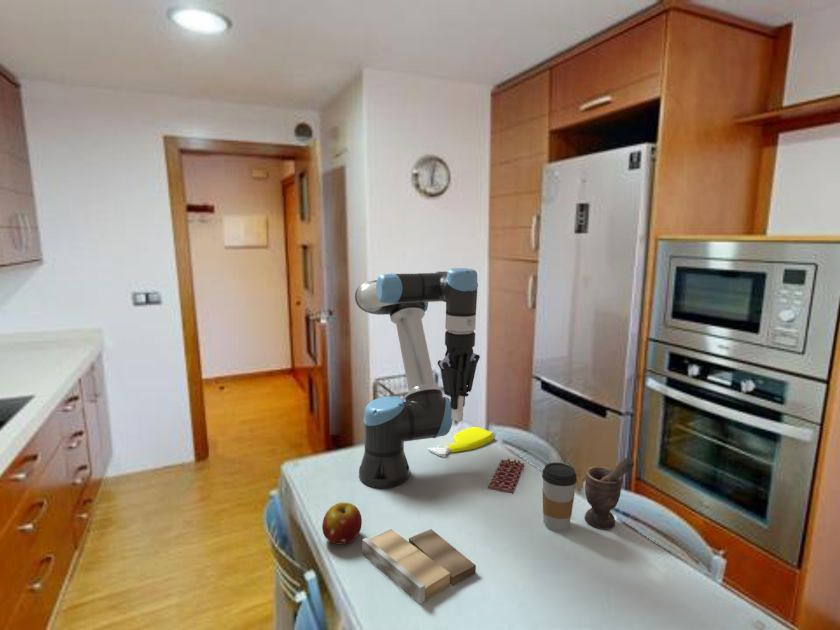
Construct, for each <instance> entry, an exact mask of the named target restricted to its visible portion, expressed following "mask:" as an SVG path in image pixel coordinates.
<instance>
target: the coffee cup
mask: <svg viewBox="0 0 840 630" xmlns="http://www.w3.org/2000/svg"><path fill="white" fill-rule="evenodd" d="M541 477H542V513H543V515H542V516H543V524H544V526H545V527H546V528H547V529H548V530H550V531H554V532H556V533H557V532H558V533H562V532H566V531H567V530H568V529H569V527H570V525H571V517H572V515H573V514H572V513H573V507H574V501H575V489H576V483H577V473H576V470H575V468H574V467H573V466H572V465H570V464H567V463H563V462H548V463H547V464H545V465H544V468H543V469H542V474H541Z"/></svg>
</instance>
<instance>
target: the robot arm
mask: <svg viewBox="0 0 840 630" xmlns="http://www.w3.org/2000/svg"><path fill="white" fill-rule="evenodd" d="M478 287H479V284H478V273H477V270H475V269H473V268H466V267H465V268H463V267H455V268H450V269H448V271H435V272H427V273H426V272H425V273H424V272H423V273H421V272H420V273H418V272H417V273H393V272H391V273H383V274H380V275H379V276H378V277H377V280H375V279H374V280H371V281H370V280H369V281H366V282H363V283H361V284H360V285H359V286H358V287H357V289H356V290H355V293H354V301H355V303H356V306H357V307H358V308H359V309H360V310H362V311H363V312H365V313H368V314H372V315H381V316H382V315H389V318H390V322H391V323H393V324H394V325H396V332H397V335H398V336H397V337H398V341H399V345H400V346H399V347H400V352H401V357H402V362H403V368H404V373H405V379H406V384H407V388H408V389H407V390H408V392H407V393H406V395H405V397H404V398H402V397H400V396H396V395H394V396H391V395H390V396H389V395H388V396H382V397H377V398H376V399H374V400H371V401H370V402H369V403H368V404H367V405H366V406H365V408H364V415H363V416H364V417H363V424H364V453H363V456H362V460H361V463H360V466H359V469H358V478H359V480H360V482H361V483H362V484H364V485H366V486H368V487H371V488H376V489H377V488H378V489H389V488H394V487H397V486H401V485H402V484H405V483H406V482H407V481H408V480H409V479H410V466H409V463H408V459H407V457H406V453H405V449H404V448H405V446H404V445H405V443H406V442H411V441H417V440H418V441H420V440H427V439H436V438H440V437H445V436H447V435H448V434H449V433H450V431H451V429H452V427H453V426H452V425H453V421H456V422H458V423H460V422H462V421H464V407H465V404H466V397H468V396H469V393H471V392H472V390H473V384H474V379H475V375H476V370H477V364H478V362H479V360H480V359H481V355H479V354H477V353H475V352H474V347H475V346H476V345H475V344H476V333H475V330H476V320H477V319H476V318H477V303H478V302H477V300H478ZM431 302H432V303H434V302H436V303H437V302H444V303H445V324H444V325H445V326H444V327H445V330H446V331H445V332H444V333H445V334H444V345H445V347H446V351H445V355H444V358H443V359H442V360H440V359H439V360H438V361H437V366H438V368H439V369H440V374H441V380H442V386H443V392H444V395H446V396H443V392H442V389H441V388H439V387H437V386H436V383H435V382H436V381H435V378H434V373H433V368H432V363H431V358H430V353H429V349H428V344H427V340H426V334H425V330H424V329H425V328H424V326H423V321H422V320H423V318H424V316H425V314H426V313H425V312H427V310H428V308H429V303H431ZM447 396H448V397H447ZM449 397H450V398H449ZM404 400H405V401H404Z"/></svg>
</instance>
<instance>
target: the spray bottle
mask: <svg viewBox="0 0 840 630" xmlns="http://www.w3.org/2000/svg"><path fill="white" fill-rule="evenodd" d="M494 439H495V436H494V434H493V432H492V431H489V430H487V429H484V428H482V427H479V426H472V427H469V428H465V429H463V430H461V431H458V432H456V433H455V435H454V436H453V441H454V442H453V443H452V442H451V443H450V444H446V445H445V446H444V447H441V445H440V444H439V445H438V446H436V447H427V451H429V452H430V453H432V454H435V455H436V456H439V457H441V458H446V457H447V456H446V455H448V454H449V453H458V452H459V453H460V452H465V451H470V450H471V451H472V450H474V449H477V448H480V447H483V446H485V445H487V444H488V443H491V442H492V441H493V440H494Z"/></svg>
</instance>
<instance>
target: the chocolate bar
mask: <svg viewBox="0 0 840 630" xmlns="http://www.w3.org/2000/svg"><path fill="white" fill-rule="evenodd" d="M524 467H525V462H521V460H517V459H513V460H511V459H510V458H507V459H504V458H503V459H501V460H500V462H499V466H497V469H496V470H495V473H493V477H491V481H489V484H488V485H487V490H488V489H489V490H494V491H496V492H497V491H498V492H503V493H508V494H514V492H515V490H516V487H517V484H518V482H519V479H520V477H521V474H522V472H523V470H524Z"/></svg>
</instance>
